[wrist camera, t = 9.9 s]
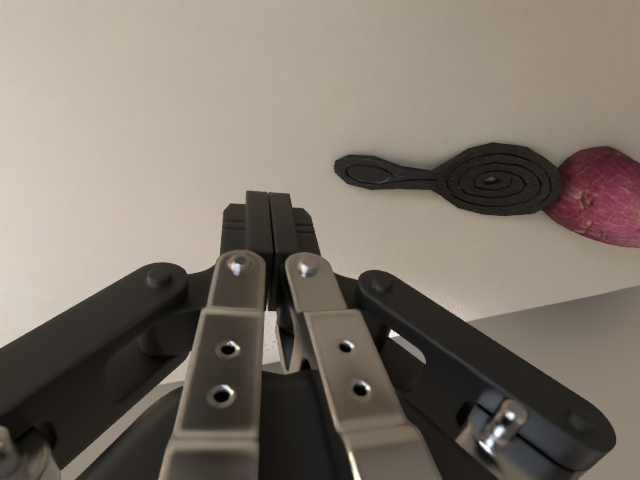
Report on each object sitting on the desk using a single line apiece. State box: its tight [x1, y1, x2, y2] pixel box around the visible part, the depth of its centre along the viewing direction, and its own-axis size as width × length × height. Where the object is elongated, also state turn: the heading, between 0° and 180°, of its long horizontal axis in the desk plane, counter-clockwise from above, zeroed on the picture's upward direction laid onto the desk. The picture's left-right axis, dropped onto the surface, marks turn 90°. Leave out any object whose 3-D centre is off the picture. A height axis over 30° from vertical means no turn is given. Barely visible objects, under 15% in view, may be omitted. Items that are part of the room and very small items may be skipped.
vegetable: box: [542, 146, 640, 248], centre depth 41 cm, size 10×10×15 cm
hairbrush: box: [334, 143, 565, 216], centre depth 41 cm, size 8×4×25 cm
